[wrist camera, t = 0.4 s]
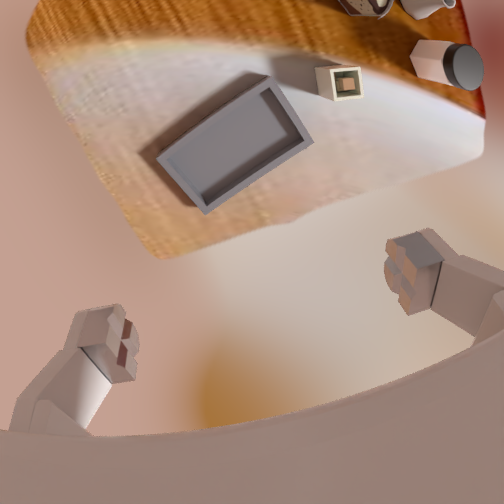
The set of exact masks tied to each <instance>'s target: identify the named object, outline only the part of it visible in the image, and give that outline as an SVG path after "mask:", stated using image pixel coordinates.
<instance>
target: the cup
mask: <svg viewBox="0 0 504 504" xmlns="http://www.w3.org/2000/svg"><path fill="white" fill-rule="evenodd" d="M314 68H315V74H316V81H317V87H318V93H319V96H321V97H324V98H327V99H330V100H332V101H340V100H349V99H358V98H364V92H363V83H362V75H361V68H360V67H358V66H349V65H334V66H324V67H314Z"/></svg>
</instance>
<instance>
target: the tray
mask: <svg viewBox="0 0 504 504" xmlns="http://www.w3.org/2000/svg"><path fill="white" fill-rule="evenodd" d="M313 143H314V141H313V140H312V138H311V136H310V135H309V133H308V131H307V130H306V128H305V127H304V125H303V123H302V122H301V120H300V119H299V117H298V115H297V114H296V112H295V111H294V109H293V108H292V106H291V105H290V103H289V101H288V100H287V98H286V97H285V95H284V94H283V92H282V91H281V89H280V88H279V86H278V85H277V83H276V82H275V81H274V79H273V78H272V77H271V76H267V77H265V78H264V79H262V80H260V81H259V82H257V83H256V84H254V85H253V86H251V87H249V88H248V89H246V90H245V91H243V92H242V93H240V94H239V95H237V96H236V97H234V98H233V99H231V100H230V101H228V102H227V103H225V104H224V105H223V106H221V107H220V108H218V109H217V110H215V111H214V112H213V113H211V114H210V115H208V116H207V117H206V118H204V119H203V120H201V121H200V122H199V123H197V124H196V125H195V126H193V127H192V128H191V129H189V130H188V131H187V132H185V133H184V134H183V135H181V136H180V137H179V138H177V139H176V140H175V141H174V142H172V143H171V144H170V145H168V146H167V147H166V148H165V149H163V150H162V151H161V152H160V153H158V155H157V157H156V160H157V161H158V162H159V163H160V164H161V166H162V167H163V168H164V169H165V170H166V171H167V172H168V174H169V175H170V176H171V177H172V178H173V179H174V180H175V182H176V183H177V184H178V185H179V186H180V187H181V188H182V189H183V191H184V192H185V193H186V194H187V195H188V196H189V197H190V199H191V200H192V201H193V202H194V203H195V204H196V205H197V206H198V208H199V209H200V210H201V211H202V212H203V213H204V214H205V215H206V214H208V213H209V212H211V211H212V210H214V209H215V208H216V207H218V206H219V205H221V204H222V203H224V202H225V201H227V200H228V199H229V198H231V197H232V196H234V195H235V194H237V193H238V192H240V191H241V190H243V189H244V188H245V187H247V186H248V185H250V184H251V183H253V182H254V181H256V180H257V179H259V178H260V177H262V176H263V175H265V174H266V173H268V172H269V171H271V170H272V169H274V168H275V167H277V166H279V165H280V164H282V163H283V162H285V161H286V160H288V159H289V158H291V157H292V156H294V155H296V154H297V153H299V152H300V151H302V150H303V149H305V148H307V147H308V146H310V145H311V144H313Z"/></svg>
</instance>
